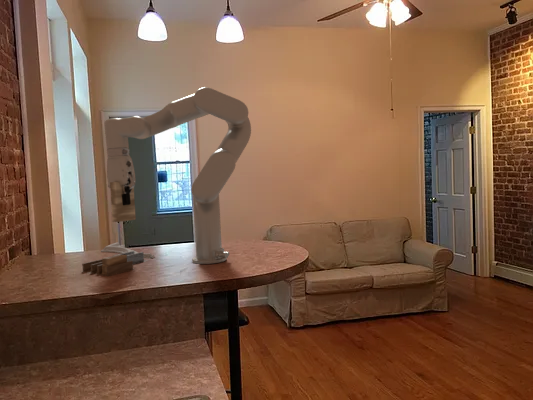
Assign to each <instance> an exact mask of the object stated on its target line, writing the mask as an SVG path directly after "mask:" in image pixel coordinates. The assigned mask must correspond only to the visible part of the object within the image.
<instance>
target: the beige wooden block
mask: <svg viewBox="0 0 533 400" xmlns="http://www.w3.org/2000/svg"><path fill="white" fill-rule="evenodd" d="M126 185H127V184H126ZM125 188H126V187H125ZM109 189H110V205H111V217H112V222H113V223H121V222H127V221H135V220H136V217H137V215H136V204H135V186H134V187H133V188H132V190H131V193H130V201H131V204H130V205H123V202H122V194H123V191H122V185H120V184H119V182H110V188H109Z"/></svg>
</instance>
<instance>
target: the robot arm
mask: <svg viewBox="0 0 533 400" xmlns="http://www.w3.org/2000/svg"><path fill="white" fill-rule="evenodd" d="M208 115H211V116H213V117H215V118H218V119H221V120H223V121H225V123H226V124H227V126H228V129H227V132H226V133H225V135H224V137H223V138H222V141H221V142H220V143H219V145H218V147H217V148H216V150H215V151H214V152H212V153H211V154H210V156H209V158H208V159H207V161H206V162H205V164H204V166H203V167H202V168H201V170H200V172H199V173H198V175H197V176H196V178H195V180H193V182H192V184H191V194H192V201H193V220H194V223H193V224H194V239H195V242H194V243H195V255H196V256H194V257H192V259H191V262H192V263H194V264H196V265H197V264H199V265H208V264H209V265H212V264H213V265H214V264H217V263H222V262H225V261H226V260H227V259H228V257H230V252H229V251H225V248H224V247H222V228H221V227H222V226H221V206H220V204H221V203H220V192H221V191H222V190H223V188H224V187H225V186H226V183H227V182H228V181H229V179H230V177H231V176H232V175H233V172H234V171H235V170H236V169H235V168H236V164H237V162H238V160H239V158H240V157H241V156H242V154H243V152H244V150H245V149H246V147H247V145H248V144H249V141H250V139H251V134H252V127H251V126H252V125H251V121H250V119H249V109H248V106H247V104H245V102H243V101H242V100H240V99H238V98H235V97H233V96H230V95H228V94H226V93H223V92H221V91H218V90H217V89H214V88H212V87H211V88H210V87H207V86H204V87H201V88H198V89H197V90H196V91H195V93H193V94H190V95H188V96H185V97H182V98H180V99H176V100H173V101H171V102H169V103H168V104H167V105H165V106H164V107H163V108H161V109H160V110H159V111H155V112H154V113H153V114H150V115H146V116H143V117H142V116H138V115H134V116H131V117H130V116H129V117H123V118H120V117H119V118H118V117H113V118H108V119H105V121H104V134H105V145H106V153H107V154H106V155H107V156H106V157H107V158H106V159H107V160H106V177H107V187H108V188H109V189H110V182H119V184H120V185H122V191H123V194H122V202H123V205H130V204H131V201H130V193H131V190H132V188H133V187H134V188H135V186H136V172H135V167H134V163H133V159H132V157H131V156H130V148H129V147H130V146H129V138H135V139H138V140H145V139H147V138H151V137H154V136H155V135H158V134H160V133H164V132H166V131H168V130H171V129H174V128H177V127H178V126H181V125H184V124H186V123H189V122H191V121H194V120H196V119H199V118H203V117H206V116H208ZM126 184H127V185H126ZM125 187H126V188H125Z"/></svg>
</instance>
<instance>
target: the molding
mask: <svg viewBox="0 0 533 400" xmlns="http://www.w3.org/2000/svg"><path fill="white" fill-rule="evenodd" d="M131 251H134V254H135V253H139V252H138V251H136V250H134V249H130V248H127V247H126V246H125V244H121V245H120V243H119V242H114V243H111V244H109V245H105V246H104V248H103V249H101V250H100V253H115V254H122V253H126V252H131ZM143 254H144V259H146V260H149V259H150V260H152V259H154V258H155V255H154V254H152V253H150V252H149V253H145V252H143Z"/></svg>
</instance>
